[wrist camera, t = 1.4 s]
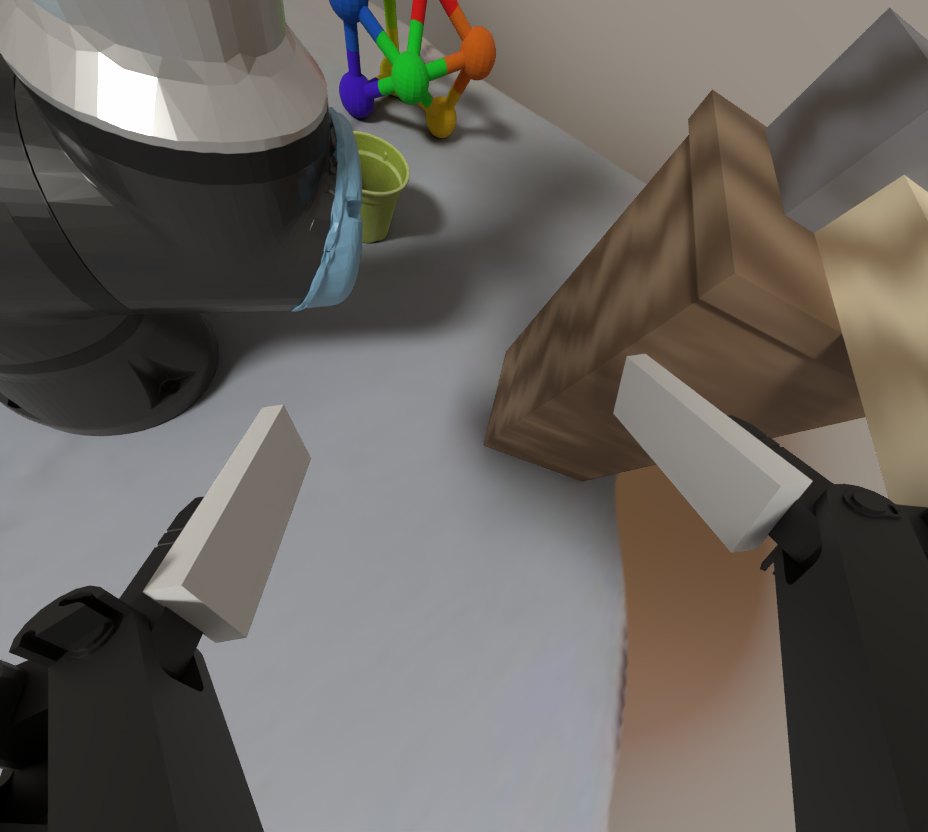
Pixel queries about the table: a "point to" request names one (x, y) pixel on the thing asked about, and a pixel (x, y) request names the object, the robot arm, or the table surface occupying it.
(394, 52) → the molecular model
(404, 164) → the plant pot
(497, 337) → the table surface
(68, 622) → the robot arm
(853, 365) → the mallet
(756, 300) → the stand
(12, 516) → the table surface
